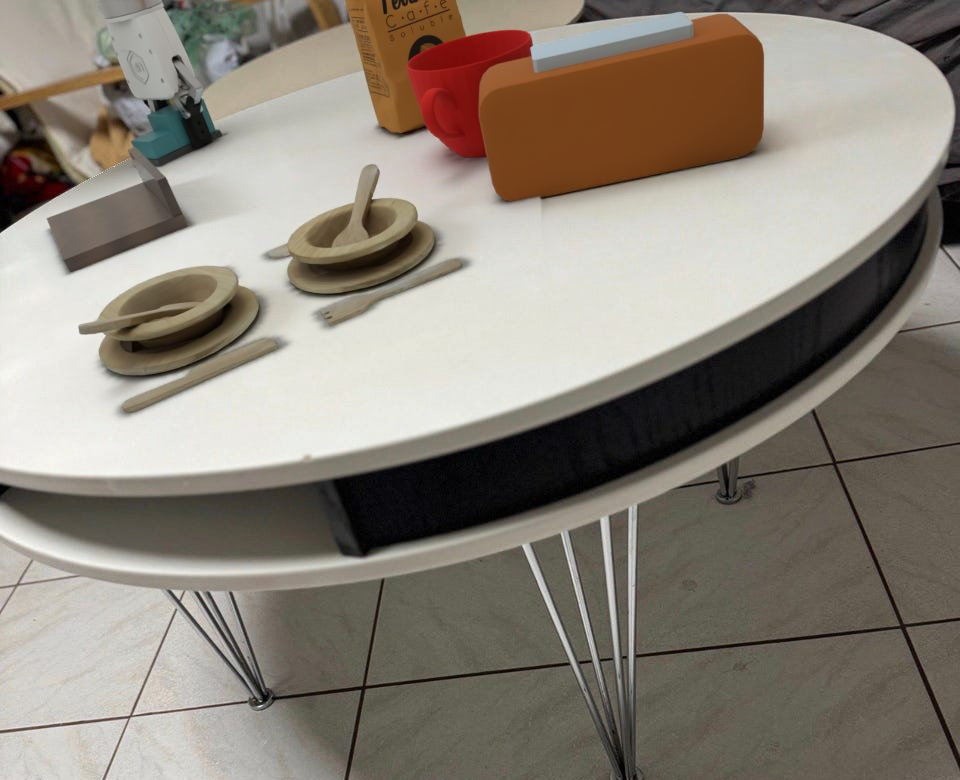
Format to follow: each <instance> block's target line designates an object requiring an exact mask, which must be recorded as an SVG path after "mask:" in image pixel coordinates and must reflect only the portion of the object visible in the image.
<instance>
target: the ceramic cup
mask: <svg viewBox="0 0 960 780" xmlns="http://www.w3.org/2000/svg"><path fill="white" fill-rule="evenodd" d="M533 42H534V41H533V38H532V35H531V33H530V32H528V31H527V30H521V29H501V30H500V29H499V30H491V31H485V32H480V33H476V34H475V33H474V34H470V35H466V37H462V38H458V39H455V40H451V41H448V42H445V43H442V44H439V45H437V46H434V47H432V48H429V49H427V50H425V51H423V52H421V53H419V54H417V55H416V56H414V57H413V58H412V59H410V60H409V62H408V63H407V71H408V75H409V78H410V81H411V85H412V88H413V91H414V94H415V97H416V99H417V102H418V105H419V107H420V110H421V112H422V117H423V120H424V123H425V125H426V126H425V127H426V128H427V130H428V131H429V133H430V134H432V136H433V137H436V138H437V139H438V140H439V141H440V143H442V144H443V145H444V146H446V147H447V148H448V149H449V150H450V151H452V152H453V153H455V154H456V155H458V156H459V157H462V158H471V159H473V158H474V159H475V158H483V157H487V155H486V150H485V145H484V140H483V135H482V131H481V126H480V121H479V87H480V81H481V79H482V76H483V74H484V73H485V72H486V71H487V70H488V69H489V68H490V67H492V66H494V65H496V64H500V63H504V62H508V61H513V60H517V59H522V58H526V57H530V56H532V55H531V49H530V48H531V47H532V46H533V45H534V43H533Z"/></svg>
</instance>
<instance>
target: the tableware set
mask: <svg viewBox="0 0 960 780" xmlns="http://www.w3.org/2000/svg"><path fill="white" fill-rule="evenodd" d="M380 175H381V171H380V169H379V166H378V165H377V164H375V163H371V164H367V165H365V166H363V168H362V169H361V171H360V175H359V178H358V183H357V188H356V192H355V197H354V202H350V203H346V204H344V205H341V206H338V207H335V208H332V209H329V210H327V211H325V212H323V213H319V214H318V215H316V216H315V217H312V218H311V219H309V220H308V221H306V222H304V223H303V224H301V225H300V226H299V227H298V228H296V230H294V231H293V233H291V234H290V236H289V238H288V240H287V243H285V244H282V245H280V246H277V247H275V248H273V249H270V250H268V251H267V252H266V254H267V256H268V258H269V259H271V260H280V259H281V260H282V259H284V258H285V259H286V258H288V257H292V259H290V261H289V263H288V265H287V269H286V274H287V277H288V279H289V281H290V282H291V284H292V285H294V287H296V288H298V289H300V290H302V291H305V292H308V293H314V294H339V293H341V294H342V293H346V292H351V291H356V290H360V289H365V288H370V287H372V286H376V285H378V284H382V283H384V282H387V281H389V280H391V279H394V278H396V277H398V276H401V275H402V274H404V273H406V272H407V271H409V270H411V269H413V268H414V267H415V266H417V265H418V264H420V263H421V262H422V261H423V260H425V259H426V257H427V256H428V255H429V254H430V253H431V252H432V251H431V250H432V249H433V247H434V245H435V233H434V230H433V229H432V228H431V226H430V225H429V224H427V223H425V222H423V221H421V220H418V219H419V214H418V209H417V207H416V206H415V204H413V203H412V202H411V201H408V200H406V199H403V198H397V197H396V198H395V197H380V198H373V197H374V193H375V191H376V189H377V186H378V181H379V179H380ZM462 267H463V264H462V261H461V260H460V259H457V258H453V259H452V258H451V259H449V260H446V261H444V262H441V263H439V264H436V265H434V266H432V267H430V268H427V269H425V270H423V271H421V272H418V273H415V274H414V275H411V276H409V277H407V278H405V279H402V280H400V281H398V282H395V283H393V284H390V285H388V286H386V287H384V288H382V289H379V290H378V291H375V292H373V293H369V294H365V295H364V294H363V295H357V296H352V297H349V298H346V299H343V300H341V301H338V302H336V303H333V304H331V305H329V306H326V307H324V308H321V309H320V310H319V312H320V315H321V316H322V317H323V318H324V320H325V321H327V324H328V325H329V326H330V327H331V326H334V325H337V324H339V323H342V322H344V321H346V320H349V319H351V318H354V317H356V316H358V315H361V314H363V313H364V312H366V311H367V310H368V309H369V308H371V306H373V305H374V304H375V303H377V302H379V301H382V300H384V299H386V298H389V297H392V296H394V295H397V294H400V293H402V292H405V291H408V290H410V289H413V288H416V287H418V286H420V285H423V284H426V283H428V282H430V281H433V280H436V279H438V278H441V277H443V276H445V275H448V274H451V273H454V272H456V271H458V270H460V269H461V268H462ZM239 282H240V281H239V278H238V275H237V274H236V272H234V270H232V269H229V268H227V267H225V266H221V265H219V266H218V265H198V266H189V267H185V268H181V269H176V270H173V271H169V272H168V271H167V272H166V273H163V274H160V275H156V276H154V277H151V278H148V279H147V280H144V281H142V282H139V283H138V284H137V283H136V284H135V285H134V286H132V287H130V288H128V289H127V290H125V291H123V292H122V293H121V294H119V295H118V296H116V297H115V298H114V299H112V300H111V301H110V302H108V303H107V304H106V305H105V307H104V308H103V309H102V311H100V313H99V315H98V317H97V320H95V321H90V322H85V323H81V324H79V325H77V327H78V333H79V335H85V336H86V335H95V334H101V333H102V334H103V335H105V336H104V338H103V339H102V341H101V343H100V345H99V347H98V356H99V359H100V361H101V362H102V364H103V365H104V367H105V368H107V369H108V370H110V371H112V372H113V373H115V374H116V373H117V374H120V375H124V376H148V375H153V374H159V373H164V372H169V371H172V370H176V369H178V368H182V367H184V366H188V365H190V364H193V363H195V362H197V361H199V360H202V359H204V358H206V357H208V356H210V355H212V354H215V353H216V352H218V351H219V350H221V349H222V348H224V347H226V346H227V345H229V344H230V343H232V342H233V341H234V340H236V339H237V338H238V337H239V336H241V335H242V334H243V333H244V332H245V331H246V330H247V329H248V328H249V327H250V326H251V324H252V323H253V322H254V320H255V319H256V316H257V315H258V313H259V308H260V305H259V299H258V297H257V295H256V294H255V292H254V291H253V290H251V289H250V288H248V287H246V286H242V285H240V283H239ZM278 349H279V346H278V344H277V342H276V340H275V339H272V338H263V339H261V340H258V341H255V342H253V343H250V344H248V345H244V346H242V347H240V348H237V349H234V350H232V351H230V352H227V353H224V354H223V355H220V356H218V357H215V358H213V359H211V360H208V361H205V362H203V363H200V364H198V365H196V366H194V367H192V369H191V371H190V372H189V373H188V374H187V375H186V376H183V377H181V378H179V379H176V380H173V381H170V382H168V383H165V384H163V385H160V386H158V387H155V388H152V389H150V390H147V391H145V392H142V393H140V394H137V395H134V396H132V397H130V398H128V399H126V400H125V401H124V402H123V403H122V404H121V409H122V410H123V412H124V413H126V414H130V413H134V412H137V411H140V410H143V409H144V408H147V407H149V406H151V405H154V404H156V403H158V402H160V401H163V400H165V399H167V398H170V397H172V396H174V395H176V394H179V393H181V392H183V391H186V390H188V389H190V388H192V387H195V386H196V385H199V384H202V383H203V382H205V381H208V380H210V379H212V378H215V377H217V376H219V375H221V374H225V373H226V372H229V371H230V370H233V369H235V368H238V367H240V366H242V365H244V364H246V363H249V362H251V361H254V360H256V359H258V358H261V357H263V356H265V355H267V354H269V353H271V352H274V351H277V350H278Z"/></svg>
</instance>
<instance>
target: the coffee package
mask: <svg viewBox="0 0 960 780" xmlns="http://www.w3.org/2000/svg"><path fill="white" fill-rule="evenodd" d="M345 5H346V10H347V13H348V18H349V22H350V25H351V28H352V31H353V34H354V38H355V42H356V46H357V50H358V53H359V57H360V61H361V66H362V69H363V72H364V78H365V81H366V85H367V89H368V92H369V96H370V100H371V104H372V107H373V110H374V113H375V117H376V120H377V124H378V126H379V127H380V128H382V129H383V128H385V129H386V130H387V131H389V132H391V133H398V134H403V133H407V132H412V131H415V130H418V129H421V128H424V127H426V125H425V123H424V120H423V117H422V112H421V110H420V107H419V105H418V102H417V99H416V97H415V94H414V91H413V88H412V85H411V81H410V78H409V75H408V71H407V63H408V62H409V60H410V59H412V58H413V57H414V56H416V55H417V54H419V53H421V52H423V51H425V50H427V49H429V48H432V47H434V46H437V45H439V44H442V43H445V42H448V41H451V40H455V39H458V38H462V37H466V36H467V33H466V31H465V28H464V24H463V18H462V15H461V13H460V10H459V6H458V3H457V0H345Z"/></svg>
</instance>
